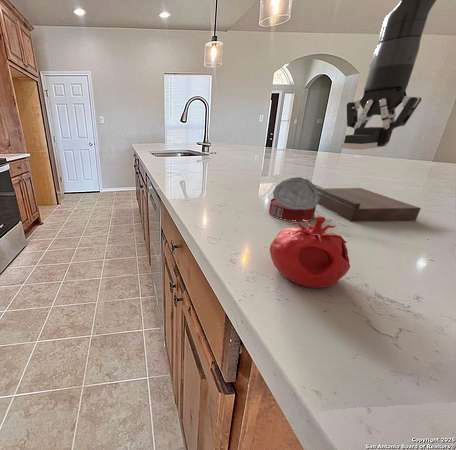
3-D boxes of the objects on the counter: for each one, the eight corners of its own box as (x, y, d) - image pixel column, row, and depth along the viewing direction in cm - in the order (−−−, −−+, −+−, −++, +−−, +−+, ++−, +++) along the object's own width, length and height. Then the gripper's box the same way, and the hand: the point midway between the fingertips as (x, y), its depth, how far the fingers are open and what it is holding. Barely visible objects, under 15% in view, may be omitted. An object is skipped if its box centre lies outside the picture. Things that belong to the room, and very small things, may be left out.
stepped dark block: (365, 145, 64) (371, 126, 63) (387, 146, 61) (393, 126, 59) (340, 148, 60) (345, 128, 58) (361, 149, 56) (367, 128, 55)
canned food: (307, 230, 62) (338, 201, 55) (284, 236, 57) (316, 204, 50) (276, 201, 68) (301, 171, 61) (253, 204, 63) (277, 171, 56)
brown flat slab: (357, 197, 71) (361, 183, 69) (415, 220, 54) (423, 202, 53) (308, 198, 72) (311, 184, 70) (350, 221, 55) (356, 203, 53)
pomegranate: (254, 262, 40) (262, 209, 37) (305, 254, 42) (318, 203, 39) (299, 301, 31) (316, 236, 28) (362, 289, 33) (385, 226, 30)
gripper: (444, 59, 50) (413, 146, 56) (364, 72, 62) (346, 143, 68) (426, 56, 47) (395, 148, 54) (346, 71, 59) (329, 144, 66)
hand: (368, 145), depth 61 cm, fingers closed on stepped dark block, 4 cm apart
